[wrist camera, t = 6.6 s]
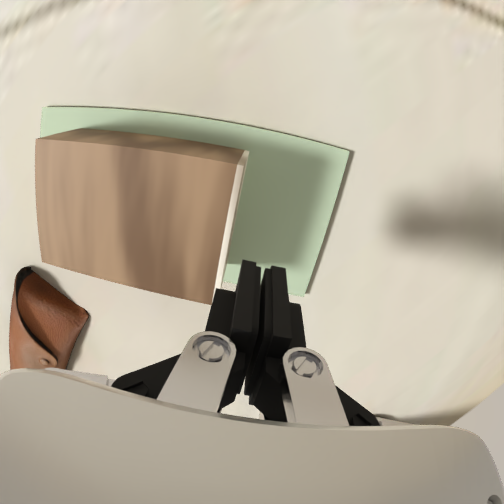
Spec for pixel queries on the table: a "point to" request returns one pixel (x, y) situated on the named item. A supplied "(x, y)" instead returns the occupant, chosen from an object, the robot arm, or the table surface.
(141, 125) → the felt mat
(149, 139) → the walnut block
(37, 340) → the sunglasses case
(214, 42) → the table surface
